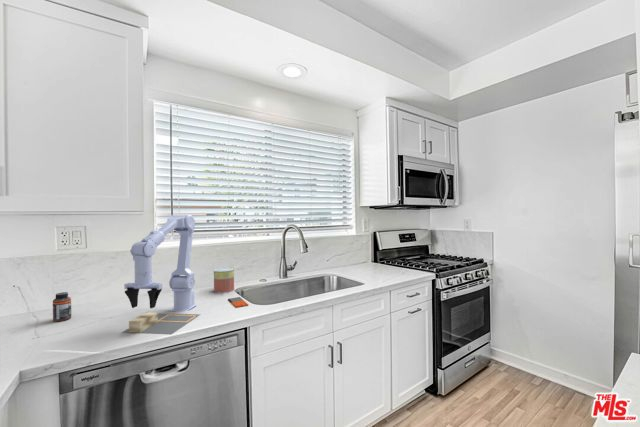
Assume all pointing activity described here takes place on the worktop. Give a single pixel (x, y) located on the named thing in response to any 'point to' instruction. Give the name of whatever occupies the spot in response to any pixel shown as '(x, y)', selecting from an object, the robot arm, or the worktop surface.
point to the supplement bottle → (61, 307)
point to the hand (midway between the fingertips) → (143, 307)
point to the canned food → (223, 280)
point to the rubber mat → (168, 323)
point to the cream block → (143, 322)
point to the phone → (237, 302)
